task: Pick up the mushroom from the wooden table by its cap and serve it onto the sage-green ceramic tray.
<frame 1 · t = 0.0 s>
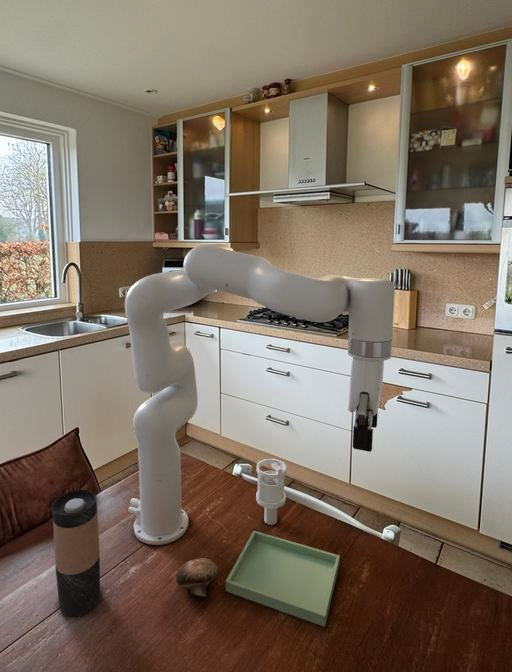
hand: (365, 437, 78), 31 cm above the table, tool pointing down, fingers open, 9 cm apart
white open cylindrical frame: (270, 521, 101), on the table
travel mug: (80, 600, 79), on the table
tray: (284, 577, 85), on the table
mushroom: (197, 588, 82), on the table
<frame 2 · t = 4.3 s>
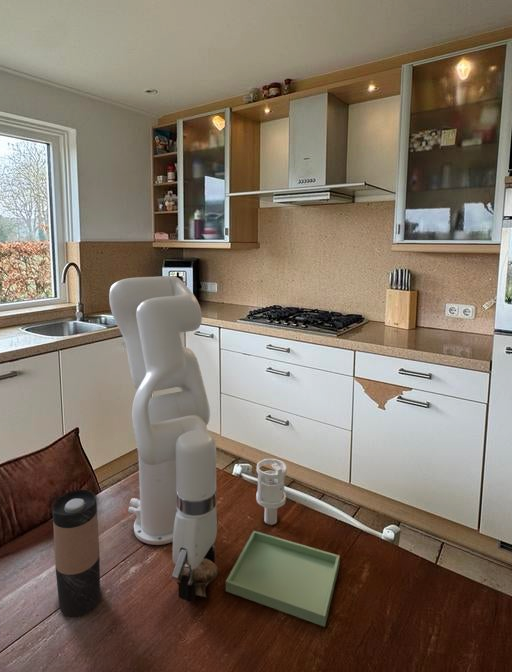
hand: (197, 581, 82), 1 cm above the table, tool pointing down, fingers closed on mushroom, 7 cm apart
mushroom: (197, 588, 82), on the table, touching gripper
everything else where it was.
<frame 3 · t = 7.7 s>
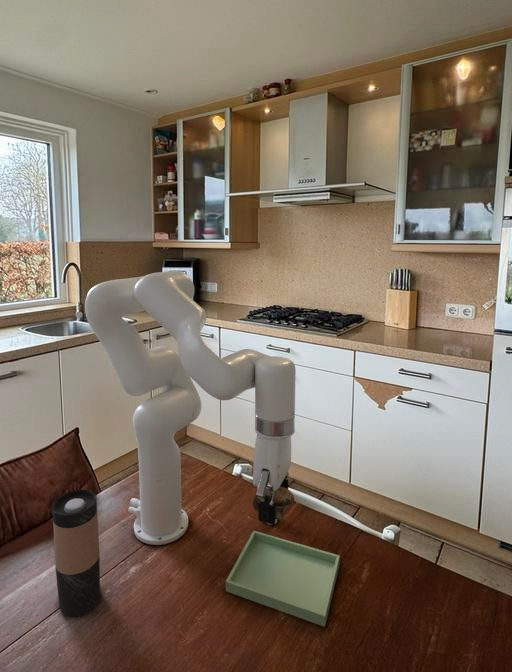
hand: (273, 508, 82), 15 cm above the table, tool pointing down, fingers closed on mushroom, 7 cm apart
mushroom: (273, 515, 82), point 14 cm above the table, touching gripper
everything else where it was.
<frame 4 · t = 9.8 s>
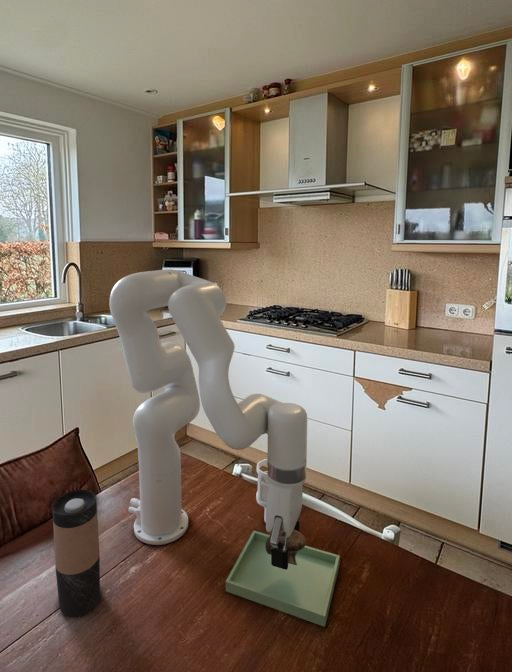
hand: (285, 551, 84), 6 cm above the table, tool pointing down, fingers closed on mushroom, 7 cm apart
mushroom: (285, 558, 84), point 4 cm above the table, touching gripper
everything else where it was.
when the fingers open (2 cm above the table, at t = 11.4 s): mushroom stays where it is, resting on tray.
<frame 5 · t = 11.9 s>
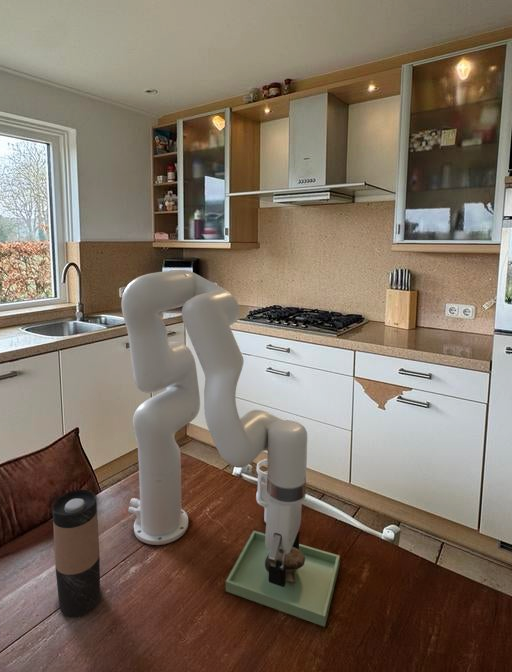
hand: (284, 565, 84), 3 cm above the table, tool pointing down, fingers open, 9 cm apart
mushroom: (284, 575, 85), resting on tray
everything else where it was.
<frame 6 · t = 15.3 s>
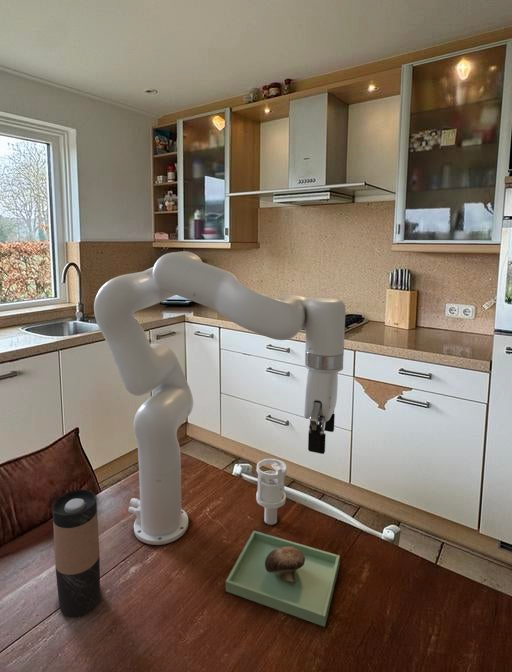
hand: (321, 440, 87), 26 cm above the table, tool pointing down, fingers open, 9 cm apart
nothing on the table moved.
at the end: mushroom inside the target area in the tray (0.0 cm from its centre), point 0.4 cm above the tray's base; the gripper is holding nothing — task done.
